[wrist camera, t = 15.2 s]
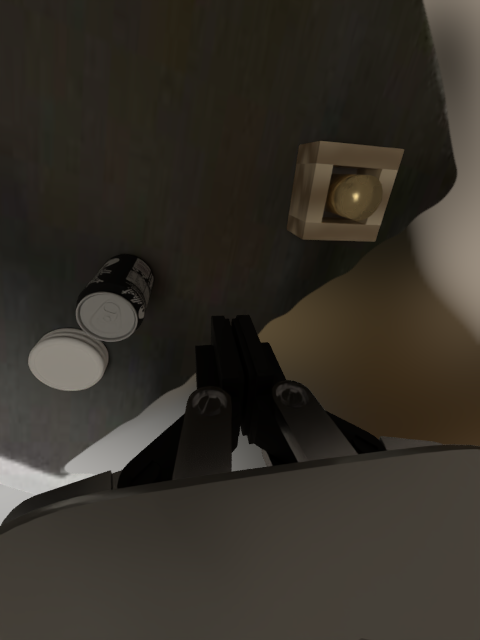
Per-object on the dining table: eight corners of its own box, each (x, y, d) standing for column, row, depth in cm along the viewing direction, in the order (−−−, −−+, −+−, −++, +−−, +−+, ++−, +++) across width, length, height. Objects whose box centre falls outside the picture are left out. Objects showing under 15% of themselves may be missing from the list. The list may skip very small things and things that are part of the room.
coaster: (65, 314, 38) (54, 327, 35) (122, 352, 43) (118, 366, 40) (24, 354, 40) (11, 369, 37) (83, 386, 45) (76, 401, 42)
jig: (299, 144, 32) (320, 140, 27) (371, 151, 34) (404, 149, 29) (286, 229, 37) (302, 239, 32) (350, 231, 39) (375, 241, 34)
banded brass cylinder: (315, 173, 33) (348, 175, 26) (347, 173, 34) (387, 175, 27) (310, 210, 35) (339, 221, 28) (340, 209, 36) (376, 220, 29)
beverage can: (98, 287, 37) (64, 334, 26) (110, 244, 34) (78, 278, 24) (146, 303, 39) (131, 352, 29) (160, 264, 36) (150, 302, 26)
